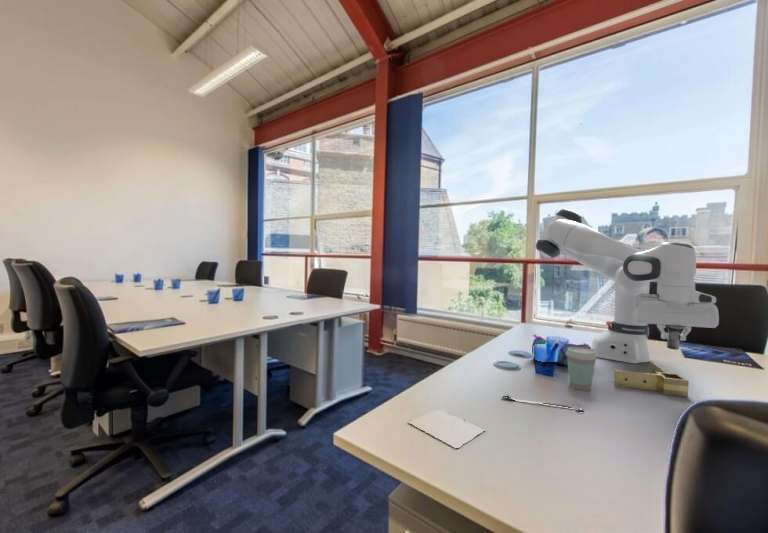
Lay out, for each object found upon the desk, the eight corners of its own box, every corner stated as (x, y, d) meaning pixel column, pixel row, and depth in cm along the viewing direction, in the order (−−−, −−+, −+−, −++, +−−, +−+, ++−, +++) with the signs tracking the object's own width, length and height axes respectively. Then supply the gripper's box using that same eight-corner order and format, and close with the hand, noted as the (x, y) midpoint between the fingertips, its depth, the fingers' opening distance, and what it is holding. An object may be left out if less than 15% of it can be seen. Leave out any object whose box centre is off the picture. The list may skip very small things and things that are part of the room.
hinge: (687, 397, 101) (688, 380, 101) (617, 388, 107) (618, 373, 107) (660, 376, 118) (661, 362, 118) (601, 369, 124) (601, 356, 124)
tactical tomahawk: (580, 407, 96) (580, 403, 96) (584, 415, 90) (584, 411, 90) (502, 393, 104) (502, 390, 104) (501, 400, 98) (501, 396, 98)
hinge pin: (665, 349, 103) (666, 325, 103) (661, 345, 107) (662, 322, 107) (684, 351, 101) (685, 327, 101) (679, 347, 105) (680, 324, 105)
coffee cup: (593, 384, 110) (594, 348, 110) (597, 394, 102) (599, 355, 102) (563, 380, 114) (565, 344, 113) (565, 389, 106) (566, 351, 105)
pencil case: (593, 366, 128) (594, 341, 127) (590, 373, 121) (591, 346, 120) (535, 355, 140) (536, 332, 140) (529, 361, 134) (530, 337, 133)
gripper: (638, 294, 104) (636, 338, 104) (723, 298, 97) (720, 345, 98) (631, 292, 110) (629, 334, 110) (710, 295, 103) (708, 340, 104)
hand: (673, 339), depth 104 cm, fingers closed on hinge pin, 3 cm apart
